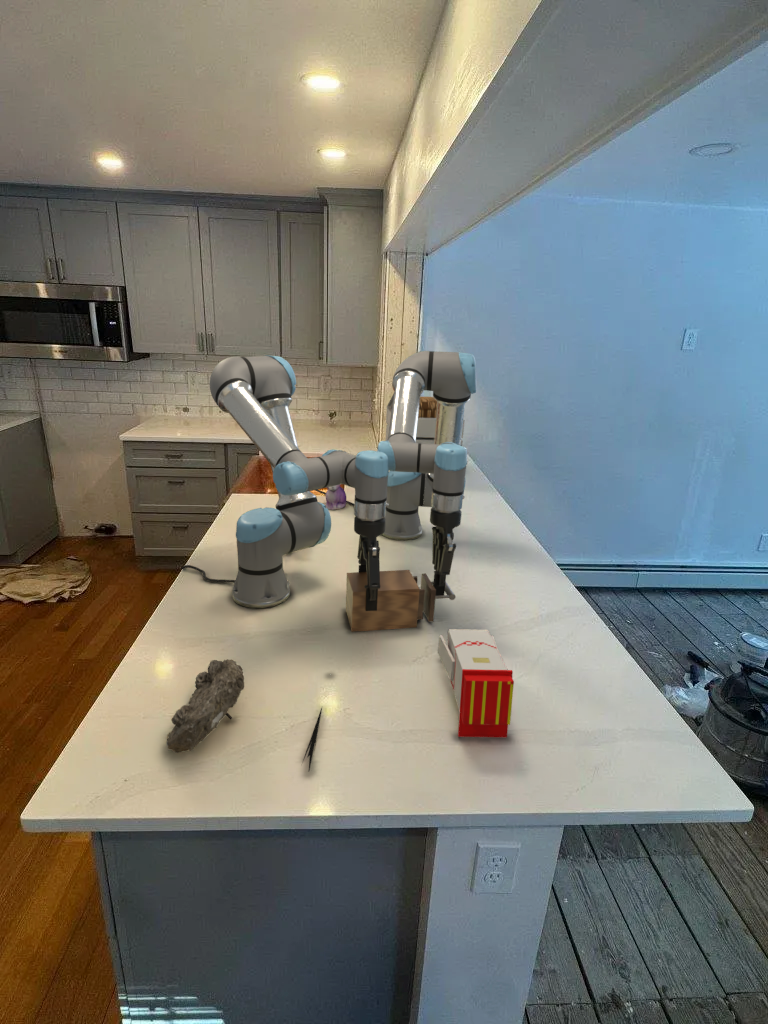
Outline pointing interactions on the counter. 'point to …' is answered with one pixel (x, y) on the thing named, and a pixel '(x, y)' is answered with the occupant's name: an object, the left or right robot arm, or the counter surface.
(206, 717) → the fossil
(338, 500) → the figurine
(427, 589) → the drawer
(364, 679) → the counter surface
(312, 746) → the feather
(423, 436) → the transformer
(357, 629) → the cabinet
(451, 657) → the toy
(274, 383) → the left robot arm
